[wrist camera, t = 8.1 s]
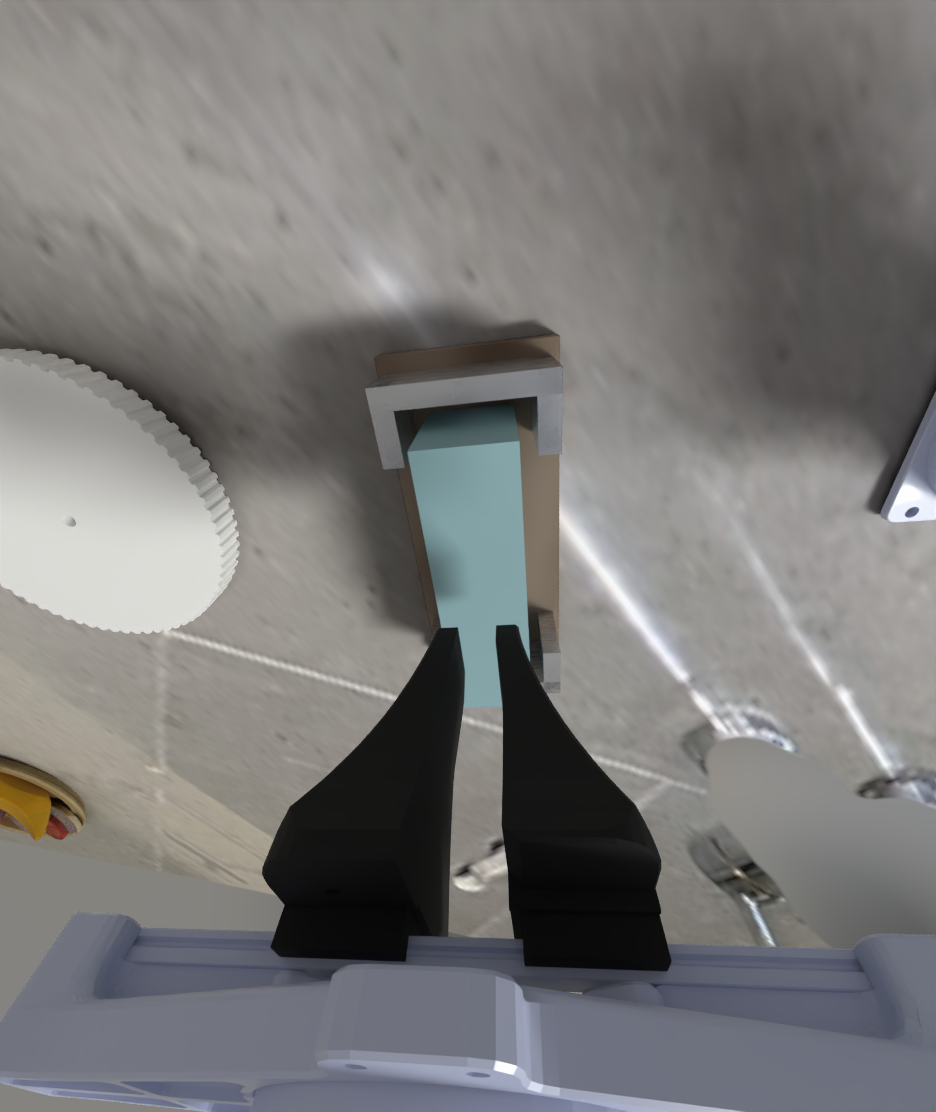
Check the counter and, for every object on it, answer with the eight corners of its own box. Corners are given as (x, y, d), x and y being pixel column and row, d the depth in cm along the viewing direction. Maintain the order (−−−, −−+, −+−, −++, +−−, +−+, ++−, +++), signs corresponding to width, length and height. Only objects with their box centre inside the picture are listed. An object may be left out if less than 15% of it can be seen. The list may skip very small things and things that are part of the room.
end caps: (551, 354, 16) (562, 366, 13) (553, 649, 24) (560, 692, 21) (384, 373, 16) (364, 388, 14) (441, 654, 24) (435, 696, 22)
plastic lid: (-9, 262, 16) (-86, 257, 14) (299, 500, 21) (277, 523, 19) (-70, 495, 22) (-130, 517, 20) (183, 640, 27) (156, 670, 25)
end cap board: (556, 333, 16) (559, 335, 15) (556, 644, 25) (558, 657, 24) (380, 354, 17) (374, 357, 16) (439, 649, 25) (437, 661, 25)
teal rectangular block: (513, 403, 17) (519, 440, 12) (525, 629, 23) (532, 706, 19) (429, 412, 17) (407, 451, 13) (463, 632, 23) (457, 708, 19)
